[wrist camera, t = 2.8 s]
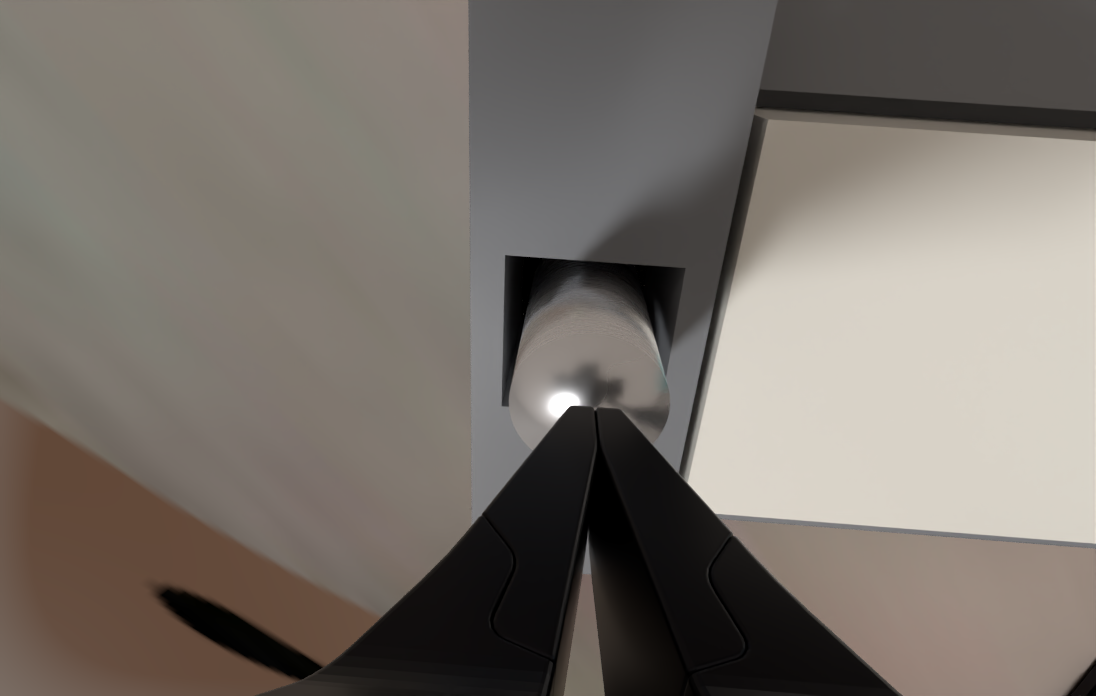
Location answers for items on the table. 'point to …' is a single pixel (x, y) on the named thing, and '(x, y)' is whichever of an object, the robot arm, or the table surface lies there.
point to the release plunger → (587, 349)
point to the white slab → (905, 329)
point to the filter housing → (703, 148)
